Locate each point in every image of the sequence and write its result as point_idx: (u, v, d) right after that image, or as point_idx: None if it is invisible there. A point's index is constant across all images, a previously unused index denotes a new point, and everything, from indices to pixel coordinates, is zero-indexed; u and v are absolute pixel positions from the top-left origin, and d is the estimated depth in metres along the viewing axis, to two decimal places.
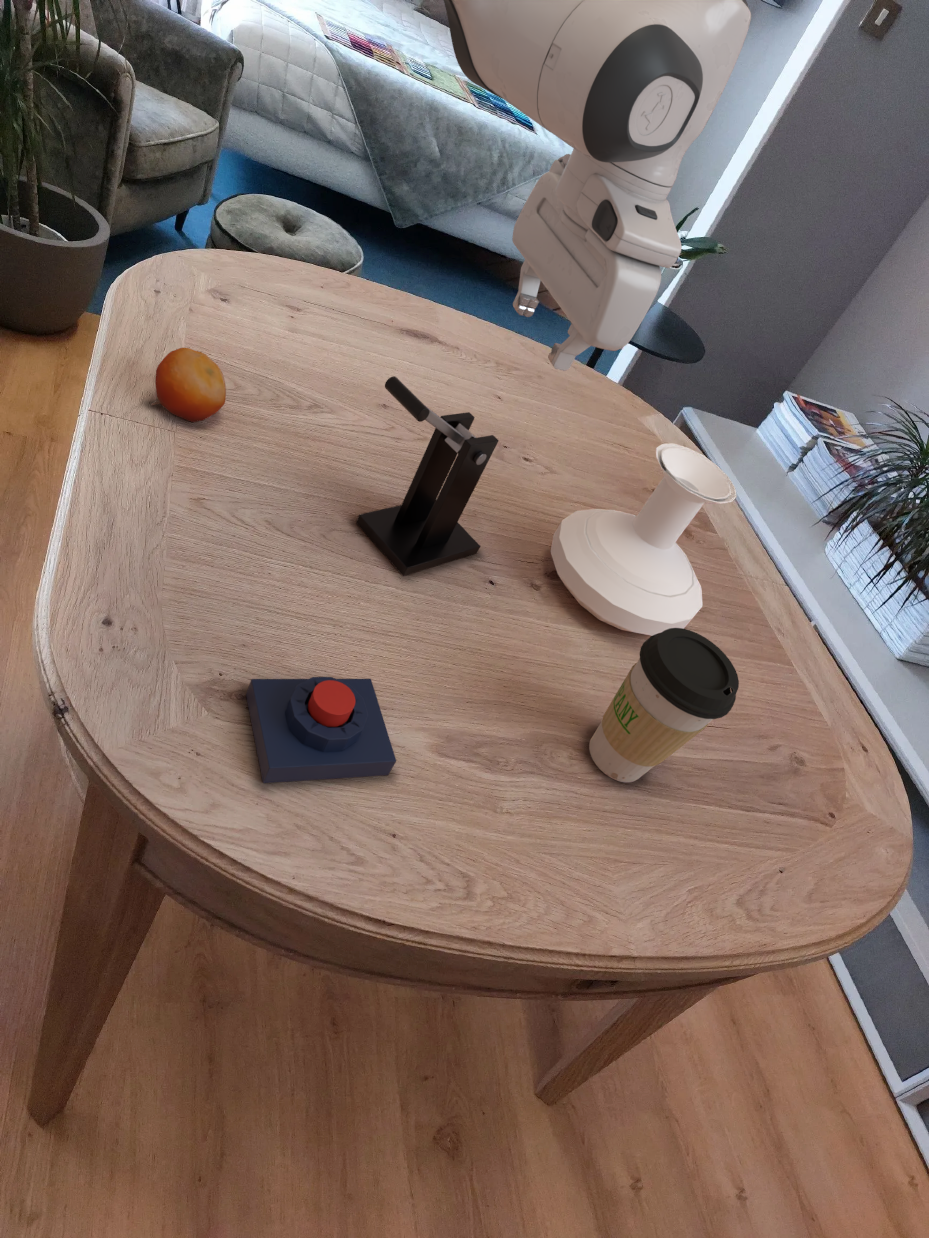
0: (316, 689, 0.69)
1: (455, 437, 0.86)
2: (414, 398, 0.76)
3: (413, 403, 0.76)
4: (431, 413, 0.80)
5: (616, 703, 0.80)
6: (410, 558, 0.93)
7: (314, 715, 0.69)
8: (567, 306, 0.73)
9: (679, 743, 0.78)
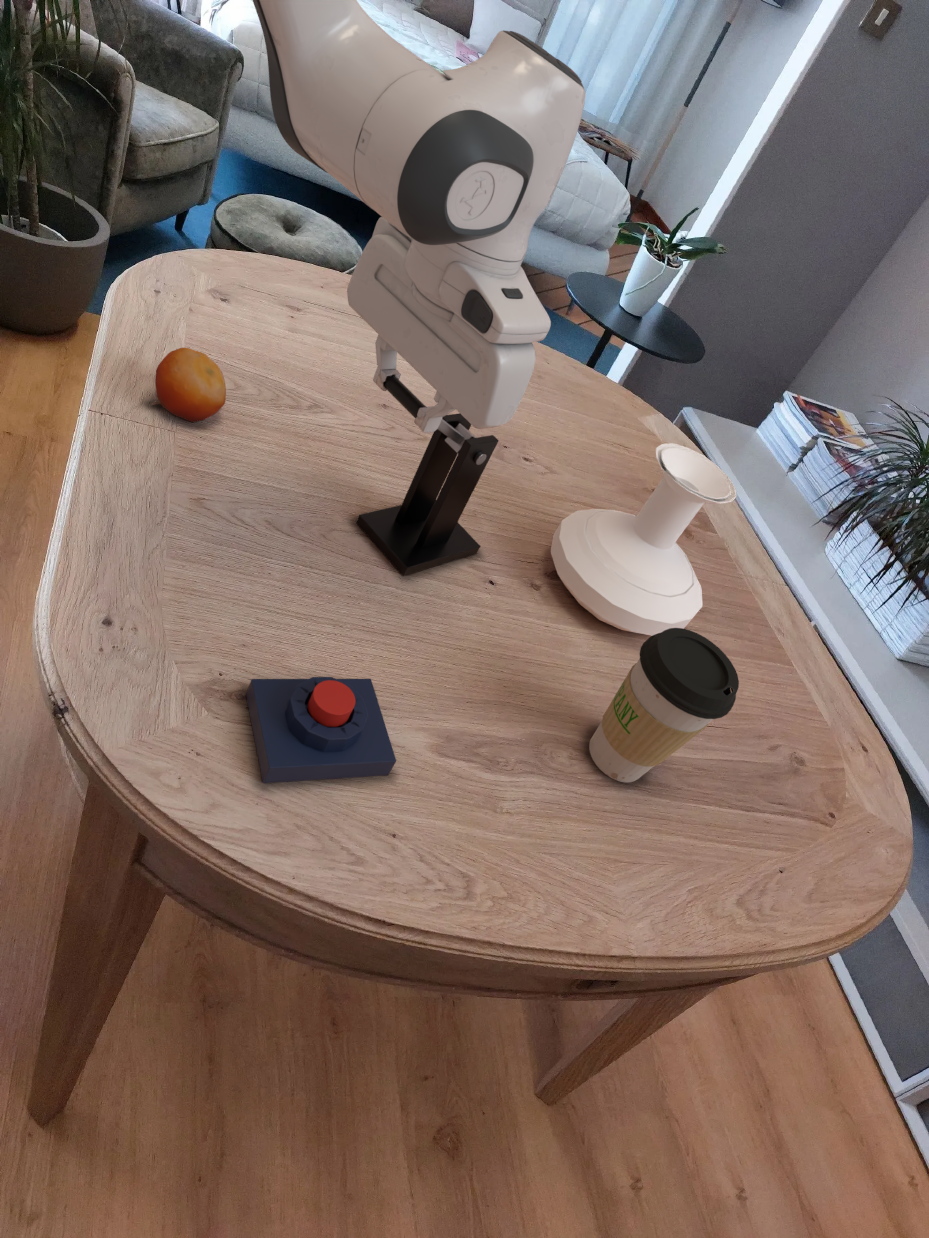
0: (316, 689, 0.69)
1: (455, 437, 0.86)
2: (414, 398, 0.76)
3: (413, 403, 0.76)
4: None
5: (616, 703, 0.80)
6: (410, 558, 0.93)
7: (314, 715, 0.69)
8: (441, 387, 0.71)
9: (679, 743, 0.78)
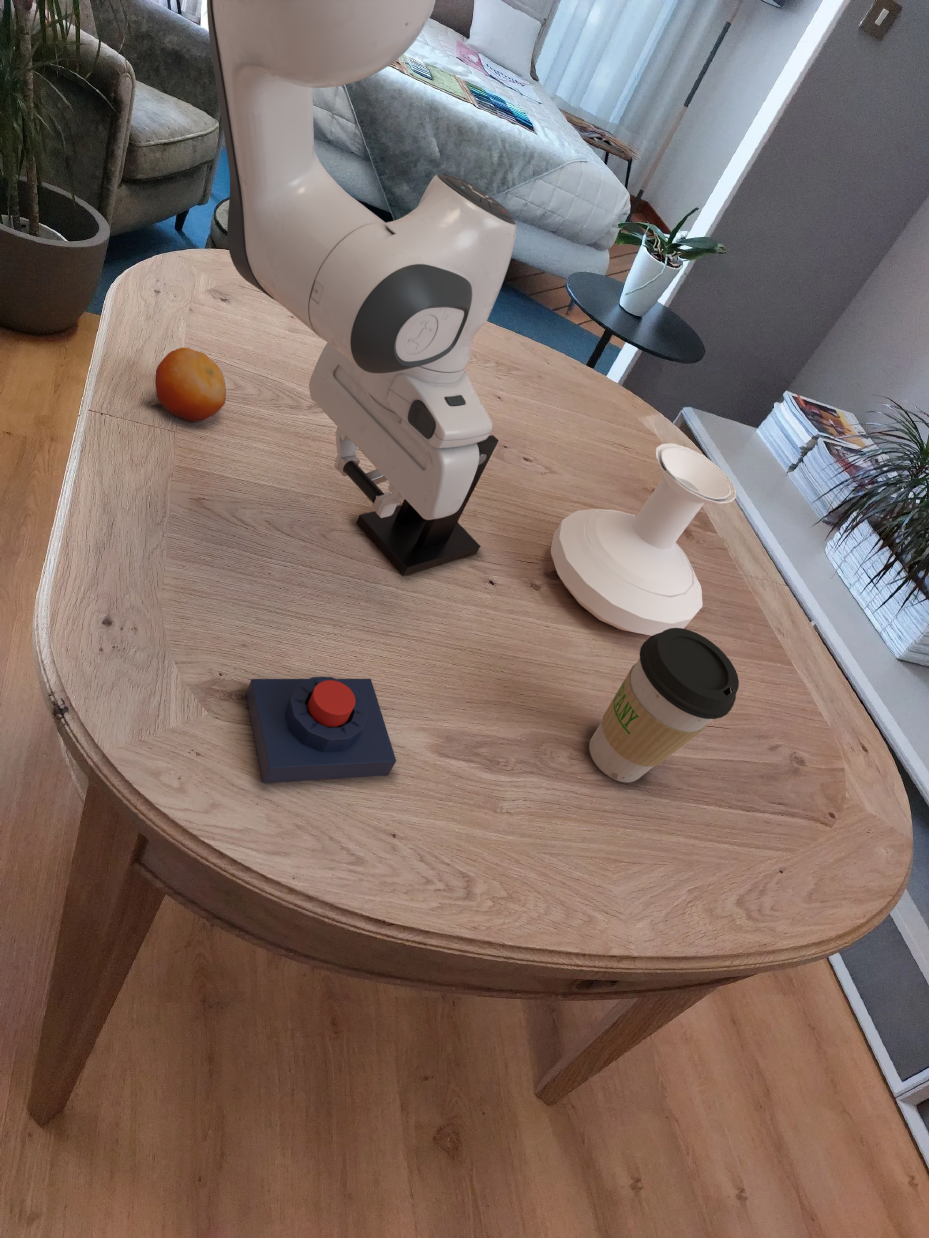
0: (316, 689, 0.69)
1: None
2: (365, 485, 0.81)
3: (365, 491, 0.81)
4: None
5: (616, 703, 0.80)
6: (410, 558, 0.93)
7: (314, 715, 0.69)
8: (394, 480, 0.77)
9: (679, 743, 0.78)
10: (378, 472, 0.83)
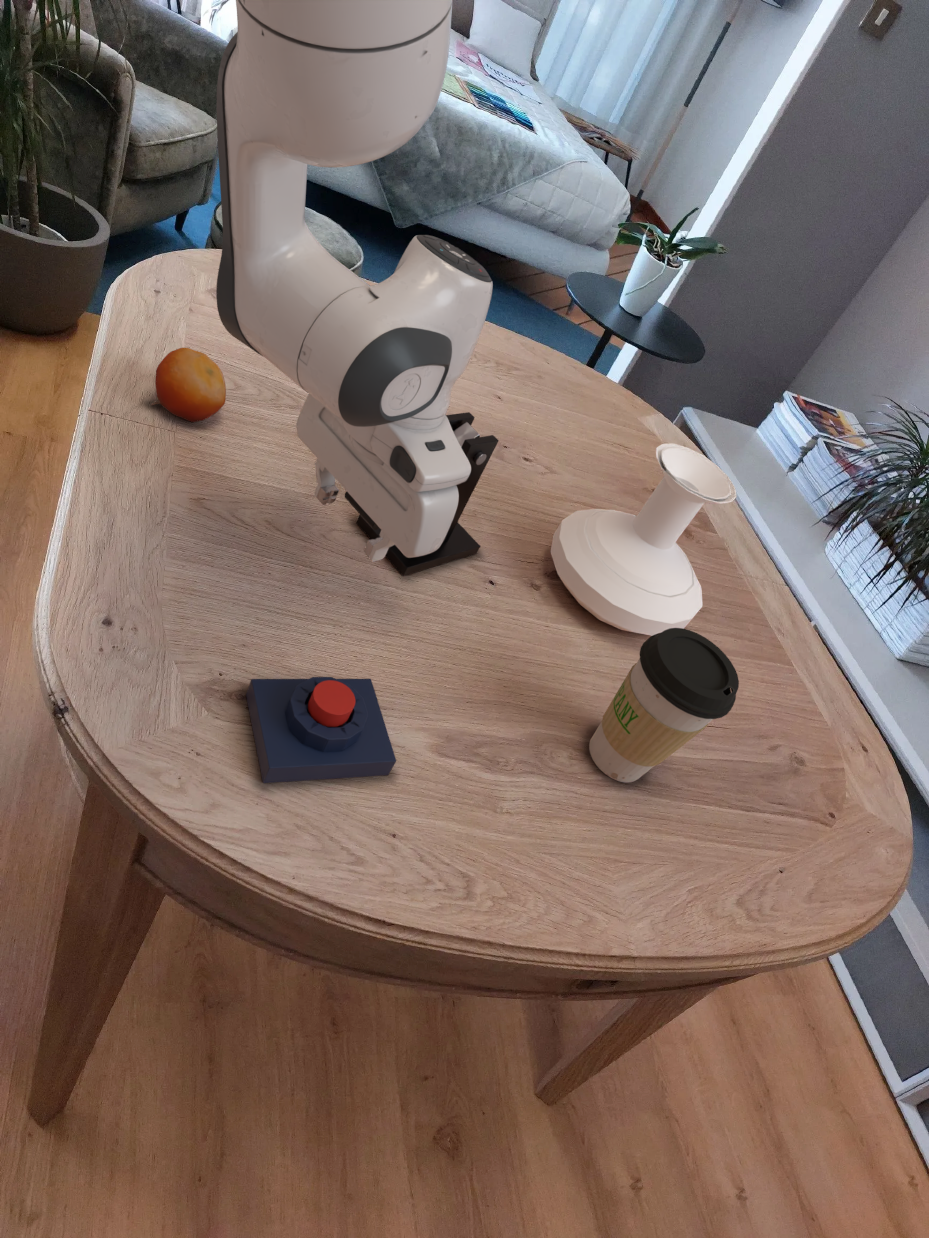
0: (316, 689, 0.69)
1: None
2: (364, 513, 0.85)
3: (365, 519, 0.85)
4: None
5: (616, 703, 0.80)
6: (410, 558, 0.93)
7: (314, 715, 0.69)
8: (377, 519, 0.80)
9: (679, 743, 0.78)
10: None
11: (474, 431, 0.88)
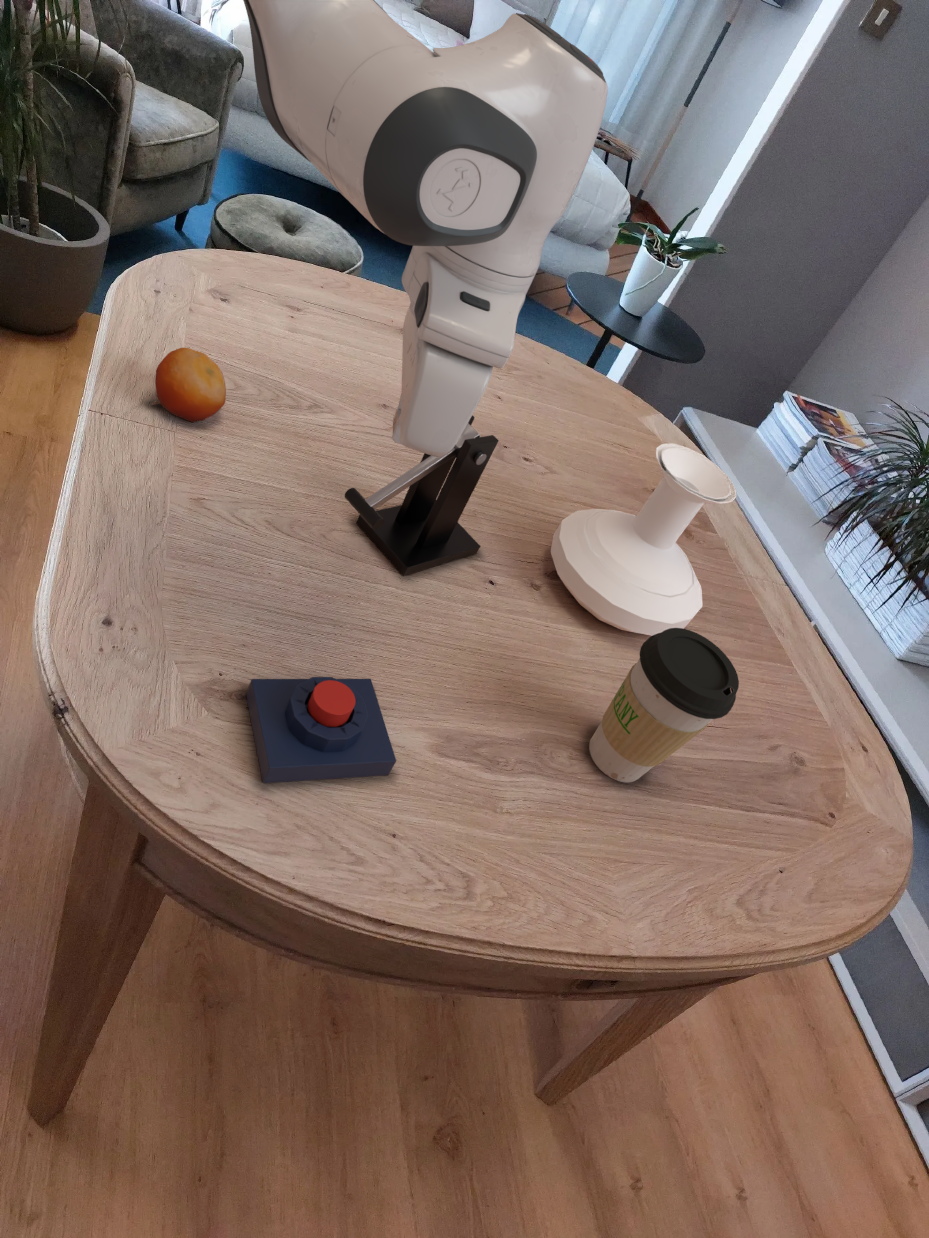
0: (316, 689, 0.69)
1: (446, 459, 0.88)
2: (364, 513, 0.85)
3: (365, 519, 0.85)
4: (397, 489, 0.86)
5: (616, 703, 0.80)
6: (410, 558, 0.93)
7: (314, 715, 0.69)
8: (402, 400, 0.63)
9: (679, 743, 0.78)
10: (377, 496, 0.86)
11: (474, 431, 0.88)
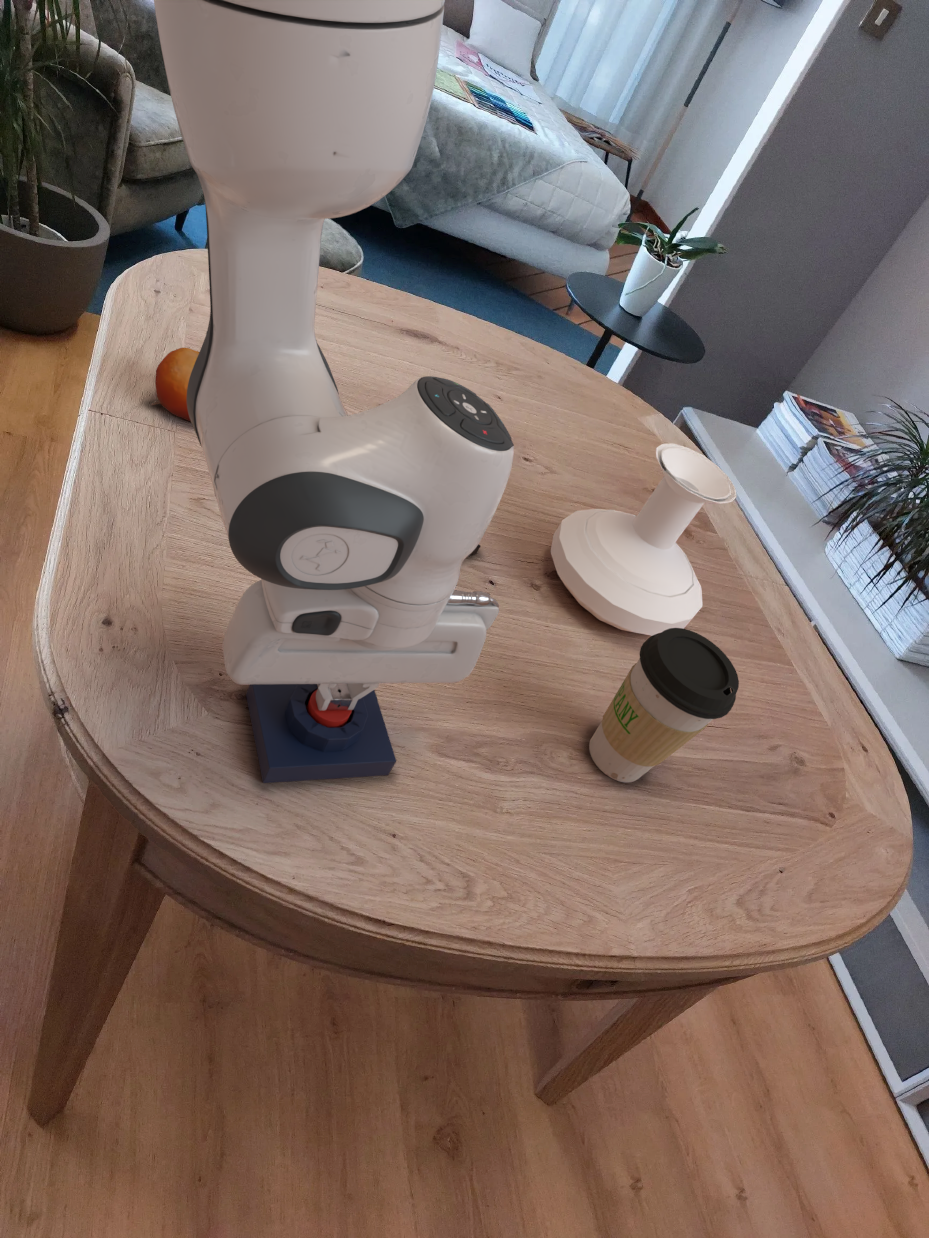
0: (313, 696, 0.70)
1: None
2: None
3: None
4: None
5: (616, 703, 0.80)
6: None
7: None
8: None
9: (679, 743, 0.78)
10: None
11: None
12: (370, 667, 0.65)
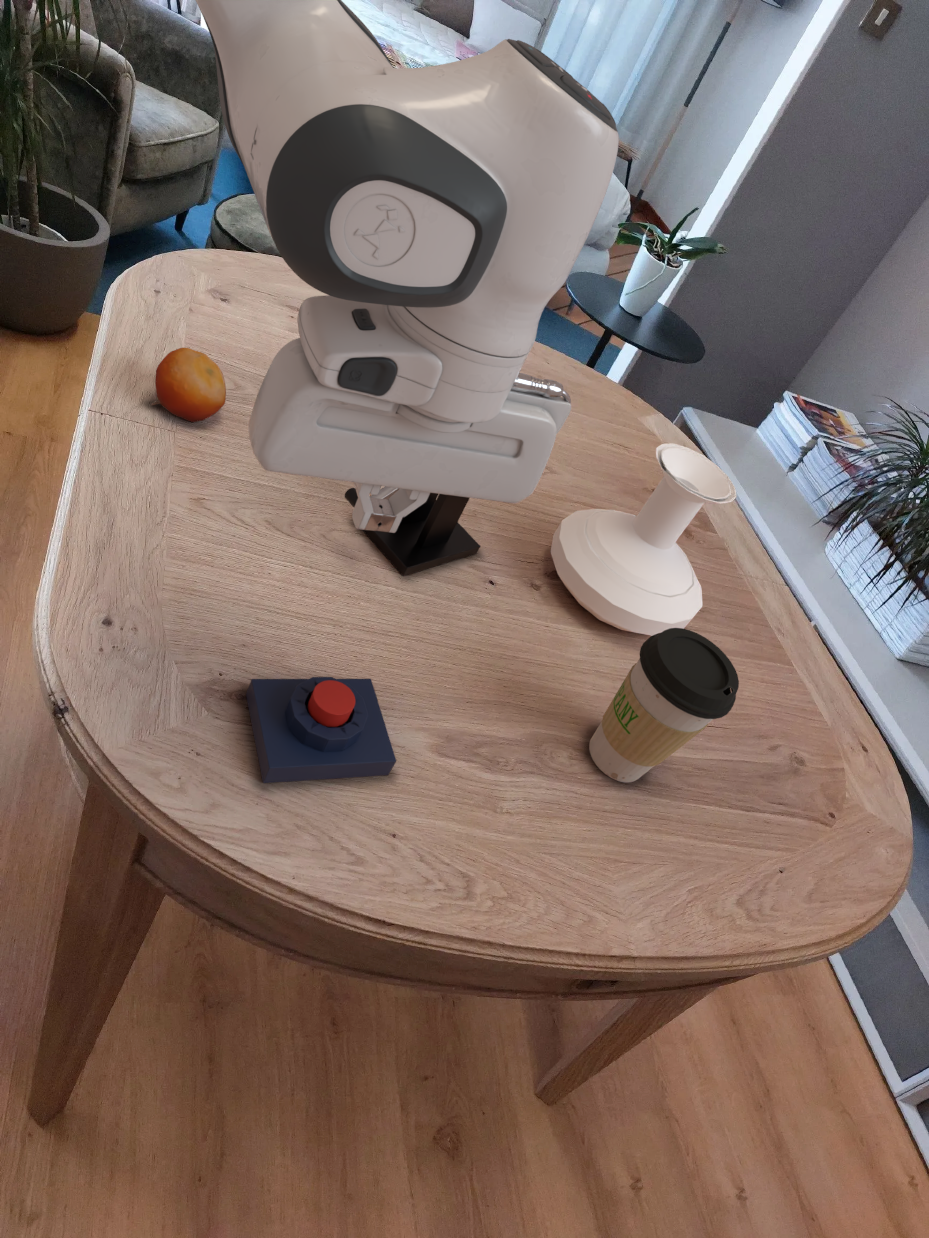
0: (316, 689, 0.69)
1: None
2: None
3: None
4: (397, 489, 0.86)
5: (616, 703, 0.80)
6: (410, 558, 0.93)
7: (314, 715, 0.69)
8: None
9: (679, 743, 0.78)
10: (377, 496, 0.86)
11: None
12: (422, 464, 0.55)
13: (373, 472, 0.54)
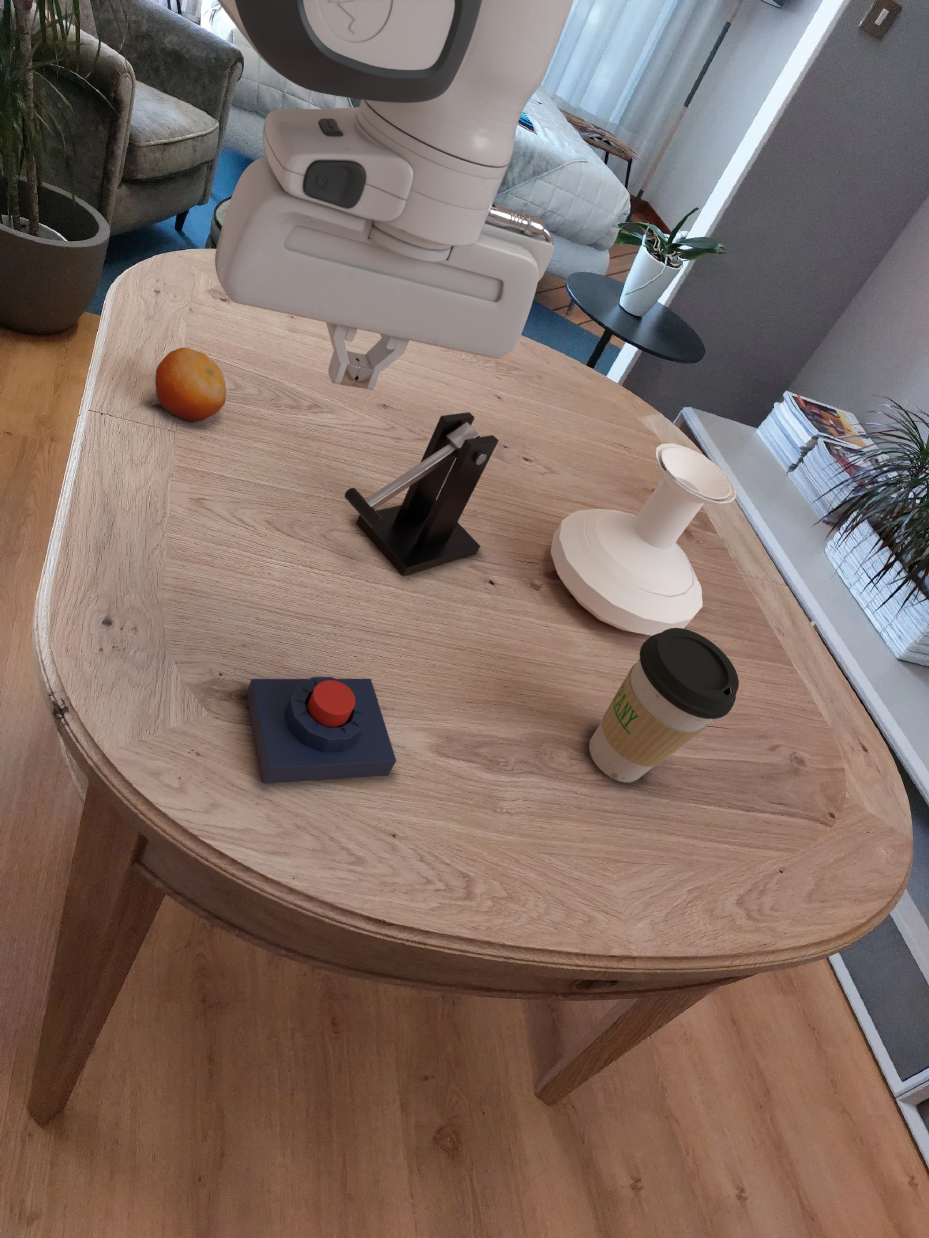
0: (316, 689, 0.69)
1: (446, 459, 0.88)
2: (364, 513, 0.85)
3: (365, 519, 0.85)
4: (397, 489, 0.86)
5: (616, 703, 0.80)
6: (410, 558, 0.93)
7: (314, 715, 0.69)
8: None
9: (679, 743, 0.78)
10: (377, 496, 0.86)
11: (474, 431, 0.88)
12: (397, 304, 0.52)
13: (346, 310, 0.52)
